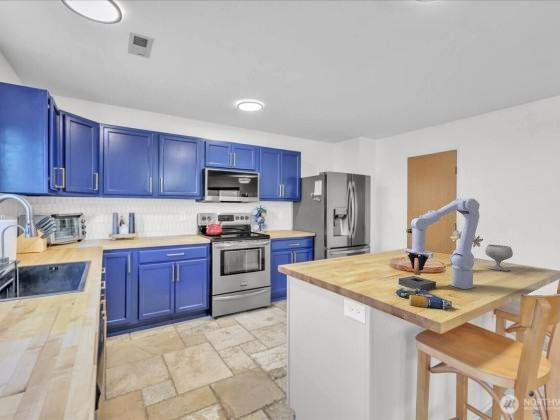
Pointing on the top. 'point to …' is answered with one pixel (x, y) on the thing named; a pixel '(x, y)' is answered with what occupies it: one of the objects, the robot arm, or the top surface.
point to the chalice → (498, 255)
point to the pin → (416, 267)
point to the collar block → (417, 283)
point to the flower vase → (457, 235)
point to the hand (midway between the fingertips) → (417, 269)
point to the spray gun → (423, 298)
